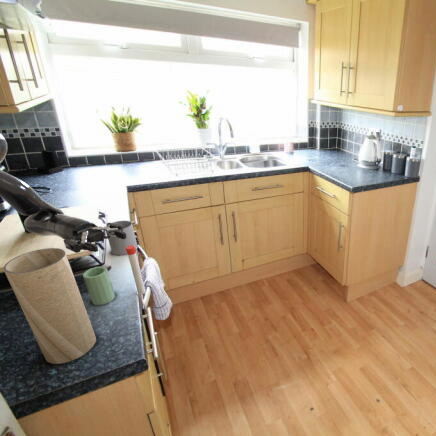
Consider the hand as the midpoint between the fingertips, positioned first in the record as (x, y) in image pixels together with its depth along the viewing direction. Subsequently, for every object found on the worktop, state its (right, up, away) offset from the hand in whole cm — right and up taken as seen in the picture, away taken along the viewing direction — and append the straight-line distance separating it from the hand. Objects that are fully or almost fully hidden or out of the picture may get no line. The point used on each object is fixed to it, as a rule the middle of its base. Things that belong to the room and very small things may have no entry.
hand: (111, 242), depth 93 cm
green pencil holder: (-3, -17, +1) cm, 17 cm away
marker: (+7, -16, +4) cm, 18 cm away
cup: (-13, -5, +26) cm, 30 cm away
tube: (+1, -25, -16) cm, 29 cm away
